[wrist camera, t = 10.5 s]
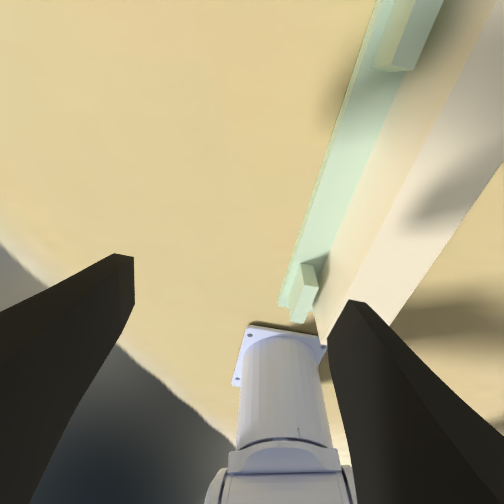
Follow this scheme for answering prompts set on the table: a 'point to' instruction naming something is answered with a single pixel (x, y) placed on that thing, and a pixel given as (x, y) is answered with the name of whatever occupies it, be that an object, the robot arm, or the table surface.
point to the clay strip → (422, 166)
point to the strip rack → (355, 138)
